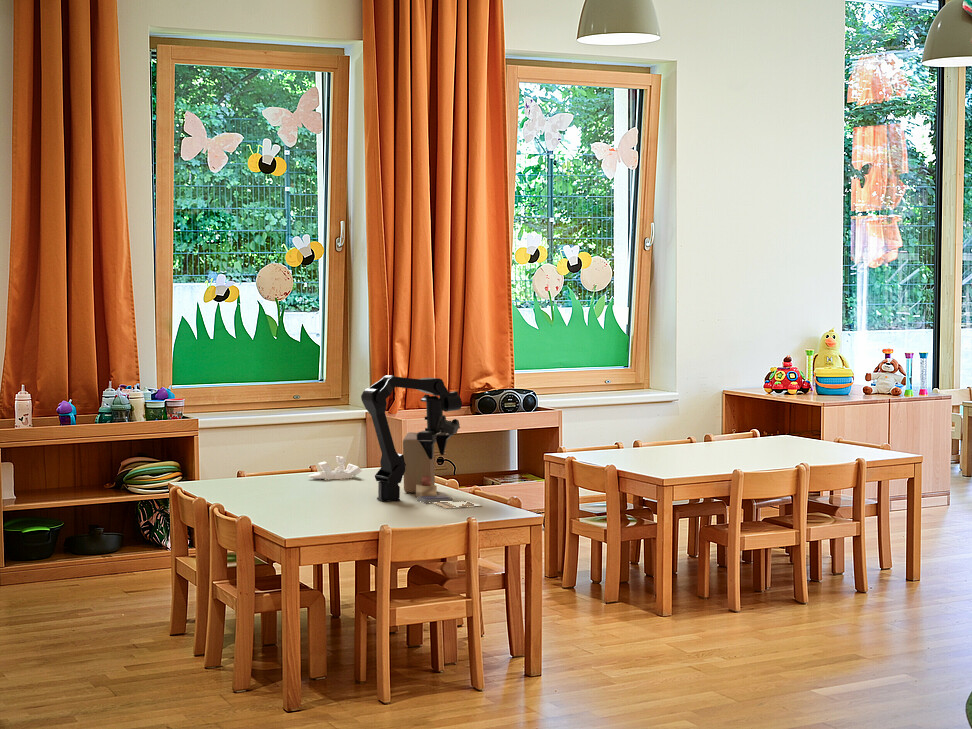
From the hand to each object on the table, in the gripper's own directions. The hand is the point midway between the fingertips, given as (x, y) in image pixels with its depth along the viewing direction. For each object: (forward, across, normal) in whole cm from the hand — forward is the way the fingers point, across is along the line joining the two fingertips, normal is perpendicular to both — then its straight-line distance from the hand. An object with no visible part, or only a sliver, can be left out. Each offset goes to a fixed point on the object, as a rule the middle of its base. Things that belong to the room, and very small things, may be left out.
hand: (436, 457), depth 403 cm
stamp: (+13, -8, +1) cm, 16 cm away
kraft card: (+13, -18, -16) cm, 27 cm away
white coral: (+13, +17, +53) cm, 58 cm away
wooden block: (+13, +3, +9) cm, 16 cm away
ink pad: (+13, -14, -5) cm, 20 cm away
